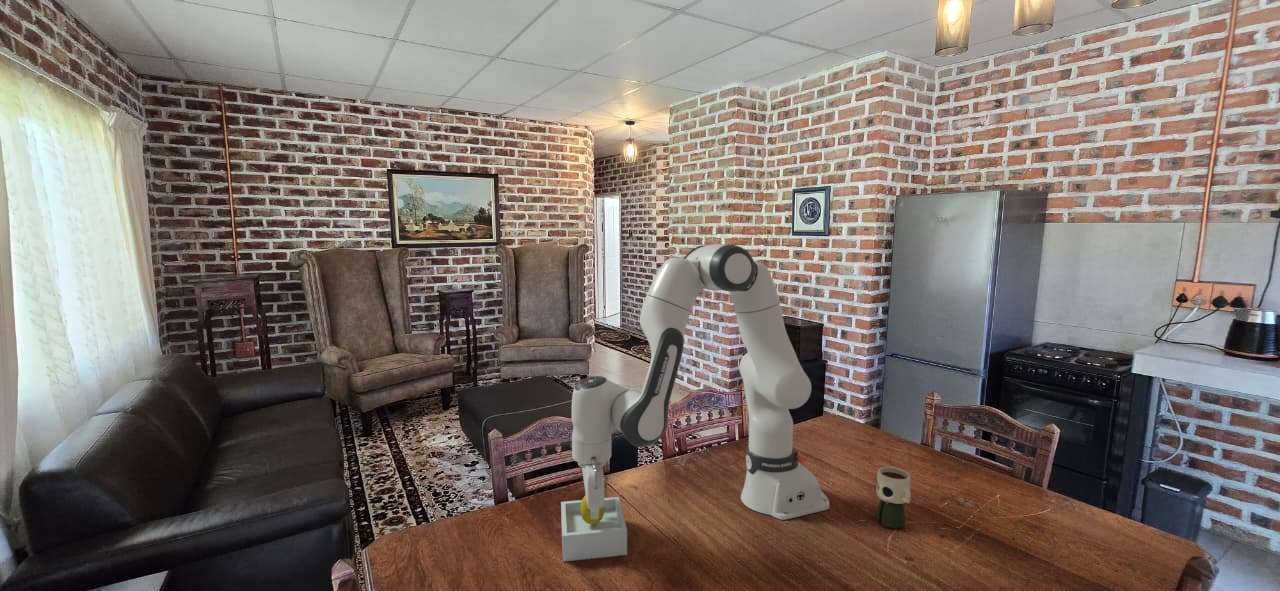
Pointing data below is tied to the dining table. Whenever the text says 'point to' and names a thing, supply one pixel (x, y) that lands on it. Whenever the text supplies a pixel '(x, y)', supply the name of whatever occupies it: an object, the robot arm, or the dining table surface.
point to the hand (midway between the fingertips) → (592, 506)
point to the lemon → (586, 513)
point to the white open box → (593, 532)
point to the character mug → (892, 495)
